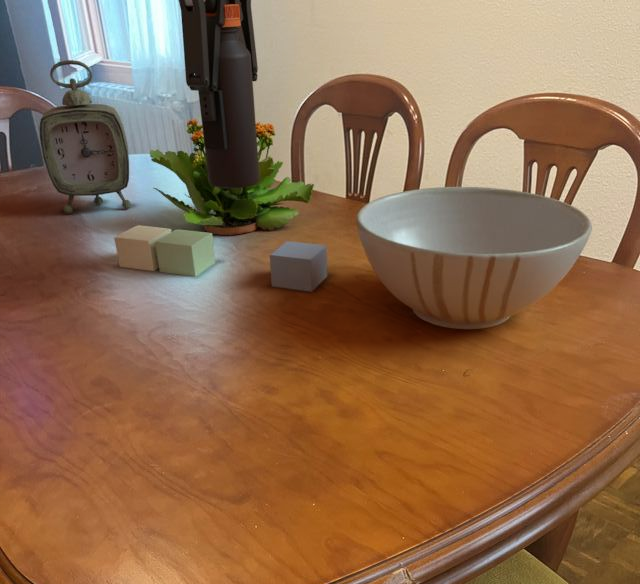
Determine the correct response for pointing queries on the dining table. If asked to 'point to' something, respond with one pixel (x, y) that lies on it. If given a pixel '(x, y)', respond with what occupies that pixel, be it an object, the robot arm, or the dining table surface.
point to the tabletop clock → (84, 145)
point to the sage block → (185, 252)
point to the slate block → (298, 266)
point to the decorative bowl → (471, 250)
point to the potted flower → (233, 189)
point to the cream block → (139, 247)
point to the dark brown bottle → (234, 111)
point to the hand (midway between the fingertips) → (230, 142)
